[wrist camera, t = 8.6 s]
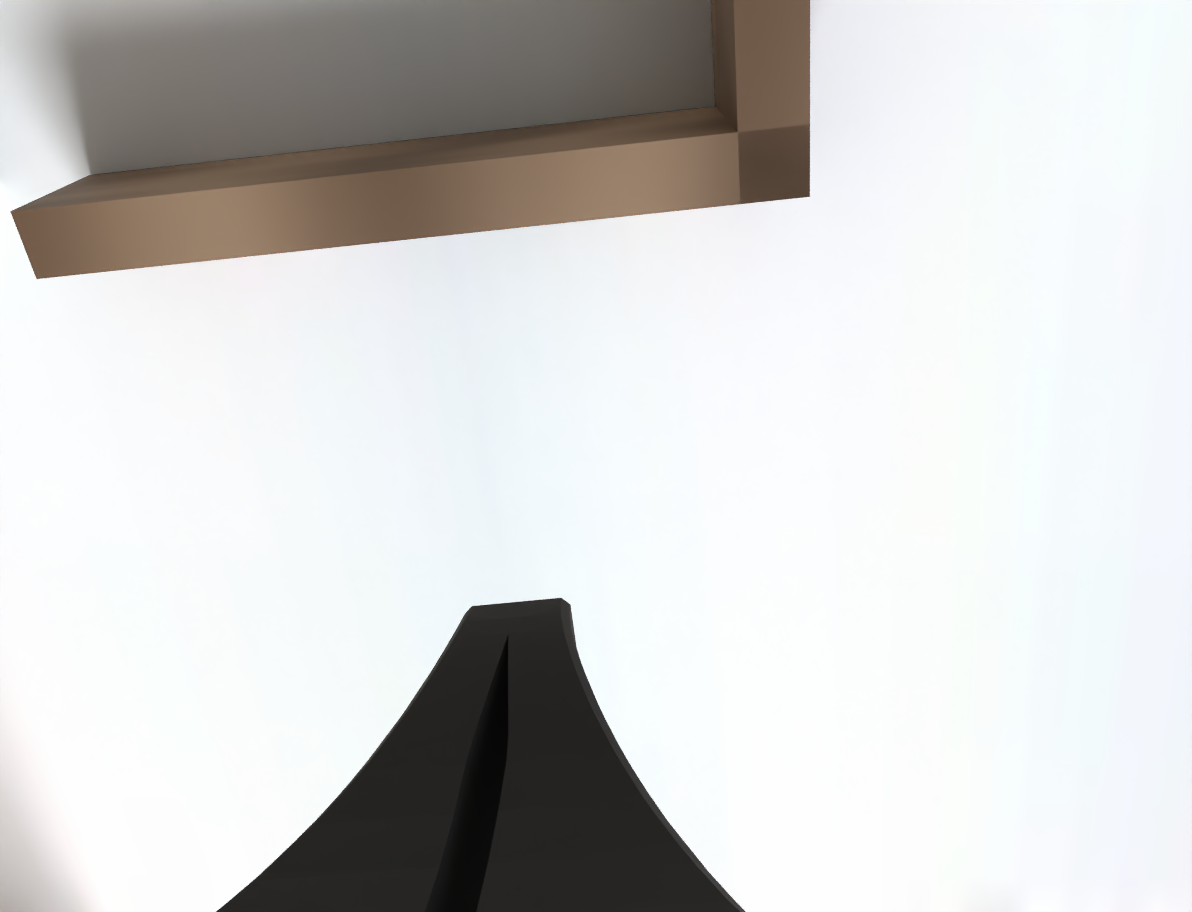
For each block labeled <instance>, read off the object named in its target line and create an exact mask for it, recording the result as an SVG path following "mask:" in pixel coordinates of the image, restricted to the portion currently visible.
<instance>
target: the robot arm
mask: <svg viewBox="0 0 1192 912" xmlns="http://www.w3.org/2000/svg"><path fill="white" fill-rule="evenodd" d="M216 912H745V911H744V910H743V909H742V908H741V907H740V906H739V905H738V904H737V903H736V902H735V900H734V899H733V898H732V897H731V896H730V895H729V894H728V893H727V892H726V891H725V889H724V888H723V887H722V886H721V885H720V884H719V883H718V882H717V881H716V880H715V878H714V877H713V876H712V875H711V874H710V873H709V872H708V871H707V870H706V868H705V867H704V866H703V865H702V863H701V862H700V861H699V860H698V858H697V857H696V856H695V855H694V853H693V852H692V851H691V850H690V848H689V847H688V846H687V845H686V843H685V842H684V841H683V840H682V838H681V837H680V836H679V835H678V833H677V832H676V831H675V830H674V828H673V827H672V826H671V825H670V823H669V822H668V821H667V819H666V818H665V817H664V815H663V814H662V812H661V811H660V809H659V808H658V807H657V805H656V804H655V802H654V801H653V799H652V798H651V797H650V795H649V794H648V792H647V791H646V789H645V787H644V786H643V784H642V783H641V781H640V780H639V778H638V777H637V775H636V773H635V772H634V770H633V769H632V767H631V765H630V764H629V762H628V760H627V759H626V757H625V755H624V753H623V752H622V750H621V748H620V746H619V745H618V743H617V741H616V739H615V737H614V735H613V733H612V731H611V729H610V727H609V726H608V724H607V722H606V720H605V718H604V716H603V714H602V711H601V709H600V707H599V705H598V703H597V701H596V698H595V696H594V694H593V691H592V689H591V686H590V684H589V682H588V679H587V677H586V675H585V672H584V669H583V667H582V664H581V661H580V658H579V655H578V651H577V648H576V641H575V634H574V627H573V620H572V613H571V606H570V604H569V603H567V602H566V601H565V600H563V599H562V598H555V599H545V600H534V601H523V602H512V603H502V604H491V605H480V606H472V607H471V608H470V609H469V610H468V611H467V612H466V613H465V615H464V617H463V618H462V620H461V622H460V624H459V626H458V627H457V629H456V631H455V633H454V634H453V636H452V638H451V640H450V641H449V643H448V645H447V646H446V648H445V650H444V651H443V653H442V655H441V656H440V658H439V660H438V661H437V663H436V665H435V666H434V668H433V669H432V671H431V673H430V674H429V676H428V677H427V679H426V680H425V682H424V683H423V685H422V686H421V688H420V689H419V691H418V692H417V694H416V695H415V697H414V698H413V700H412V701H411V703H410V704H409V706H408V707H407V709H406V710H405V712H404V713H403V714H402V716H401V717H400V719H399V720H398V722H397V723H396V724H395V725H394V727H393V728H392V729H391V731H390V732H389V733H388V735H387V736H386V737H385V739H384V740H383V741H382V743H381V744H380V745H379V747H378V748H377V749H376V751H375V752H374V753H373V755H372V756H371V757H370V759H369V760H368V761H367V762H366V764H365V765H364V766H363V767H362V769H361V770H360V771H359V772H358V773H357V775H356V776H355V777H354V778H353V779H352V781H351V782H350V783H349V784H348V785H347V786H346V788H345V789H344V790H343V791H342V792H341V793H340V795H339V796H338V797H337V798H336V799H335V800H334V801H333V802H332V803H331V804H330V806H329V807H328V808H327V809H326V810H325V811H324V812H323V813H322V814H321V815H320V817H319V818H318V819H317V820H316V821H315V822H314V823H313V824H312V825H311V826H310V827H309V828H308V829H307V830H306V831H305V832H304V833H303V834H302V835H301V836H300V837H299V838H298V839H297V840H296V841H295V842H294V843H293V844H292V845H291V846H290V847H289V848H288V849H287V850H285V851H284V852H283V853H282V854H281V855H280V856H279V857H278V858H277V859H276V860H275V861H274V862H273V863H272V864H271V865H270V866H269V867H268V868H267V869H266V870H264V871H263V872H262V873H261V874H260V875H259V876H258V877H257V878H256V879H255V880H253V881H252V882H251V883H250V884H249V885H248V886H246V887H245V888H244V889H243V890H242V891H240V892H239V893H238V894H237V895H236V896H235V897H233V898H232V899H231V900H230V901H229V902H228V903H226V904H225V905H224V906H223V907H221V908H220V909H219V910H218V911H216Z"/></svg>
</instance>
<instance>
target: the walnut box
mask: <svg viewBox="0 0 1192 912" xmlns="http://www.w3.org/2000/svg"><path fill="white" fill-rule="evenodd" d="M711 14H712V38H713V62H714V86H715V106H714V107H705V108H696V109H687V110H678V111H669V112H659V113H650V114H641V115H632V116H623V117H614V118H605V119H596V120H587V121H578V122H569V123H560V124H550V125H541V126H532V127H523V128H514V129H505V130H496V131H487V132H478V133H469V134H460V135H451V136H441V137H432V138H423V139H414V140H405V141H396V142H387V143H378V144H369V145H360V146H351V147H341V148H332V149H323V150H314V151H305V152H296V153H287V154H278V155H269V156H260V157H251V158H242V159H232V160H223V161H214V162H205V163H196V164H187V165H178V166H169V167H160V168H151V169H142V170H133V171H123V172H114V173H105V174H96V175H89V176H87V177H85V178H82V179H80V180H78V181H76V182H74V183H72V184H69V185H67V186H65V187H63V188H61V189H58V190H56V191H54V192H52V193H50V194H48V195H45V196H43V197H41V198H39V199H37V200H35V201H32V202H30V203H28V204H26V205H24V206H22V207H19V208H17V209H15V210H13V211H11V214H12V216H13V219H14V222H15V224H16V227H17V229H18V232H19V235H20V237H21V240H22V242H23V245H24V247H25V250H26V253H27V255H28V258H29V260H30V263H31V266H32V268H33V271H34V273H35V276H36V278H37V279H41V278H50V277H60V276H69V275H78V274H88V273H97V272H106V271H116V270H125V269H135V268H144V267H153V266H163V265H172V264H182V263H191V262H200V261H210V260H219V259H229V258H238V257H247V256H257V255H266V254H276V253H285V252H294V251H304V250H313V249H322V248H332V247H341V246H351V245H360V244H369V243H379V242H388V241H398V240H407V239H416V238H426V237H435V236H445V235H454V234H463V233H473V232H482V231H491V230H501V229H510V228H520V227H529V226H538V225H548V224H557V223H567V222H576V221H585V220H595V219H604V218H614V217H623V216H632V215H642V214H651V213H660V212H670V211H679V210H689V209H698V208H707V207H717V206H726V205H736V204H745V203H754V202H764V201H773V200H783V199H792V198H801V197H810V0H711Z"/></svg>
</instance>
